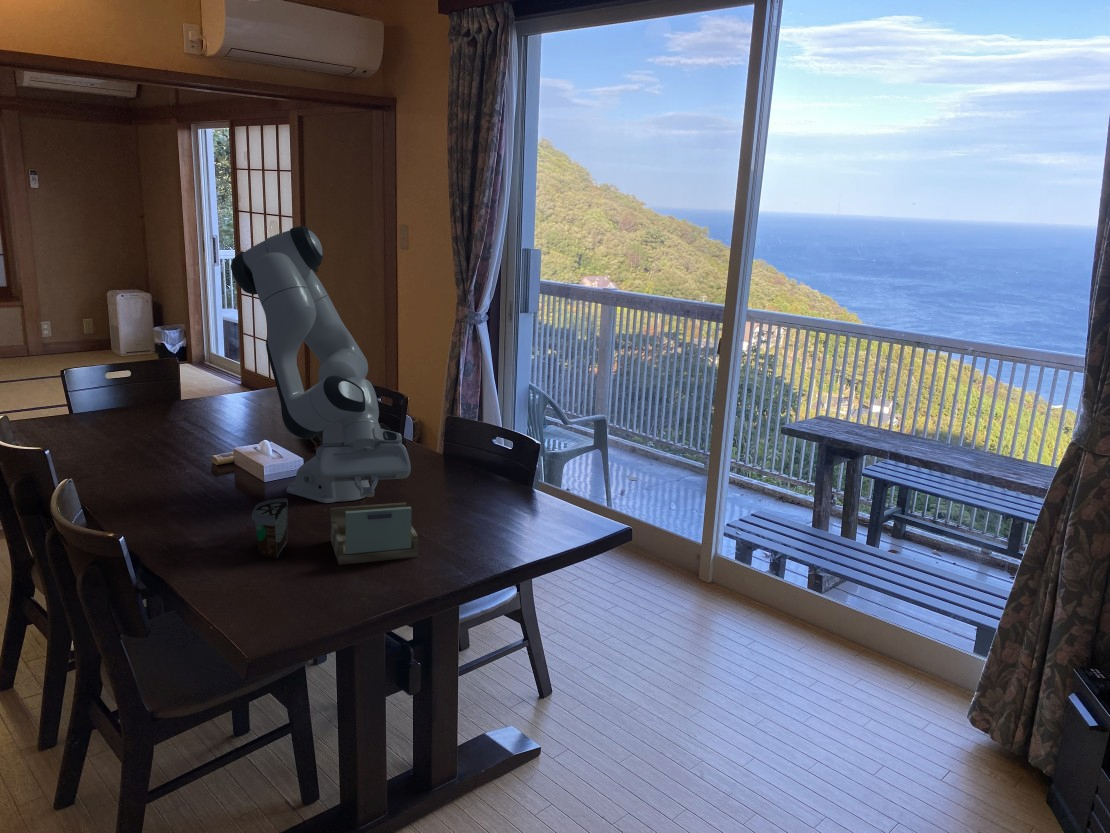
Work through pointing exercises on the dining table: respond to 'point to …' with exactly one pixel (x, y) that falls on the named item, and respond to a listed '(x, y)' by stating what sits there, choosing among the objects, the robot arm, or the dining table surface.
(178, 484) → the dining table surface
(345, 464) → the robot arm
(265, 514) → the food container
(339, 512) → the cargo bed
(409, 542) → the panel
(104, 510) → the dining table surface
